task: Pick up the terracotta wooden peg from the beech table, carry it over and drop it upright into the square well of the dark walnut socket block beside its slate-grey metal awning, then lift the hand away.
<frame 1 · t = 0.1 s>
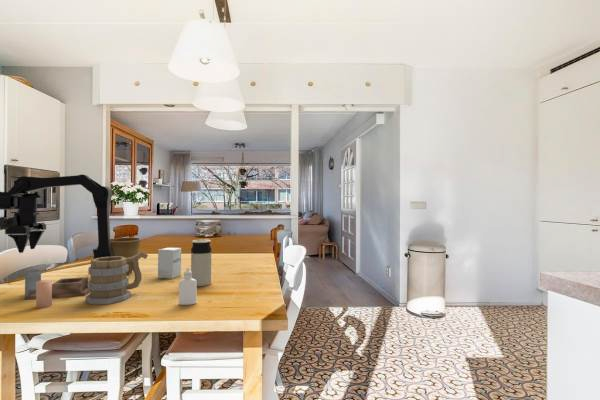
hand: (26, 250, 127), 15 cm above the table, fingers open, 9 cm apart
eye dropper bottle: (187, 304, 112), on the table
travel mug: (201, 284, 137), on the table
tankard: (119, 297, 119), on the table
plant pot: (122, 274, 155), on the table
socket block: (70, 292, 123), on the table
peg: (43, 306, 108), on the table
supplement box: (169, 277, 151), on the table
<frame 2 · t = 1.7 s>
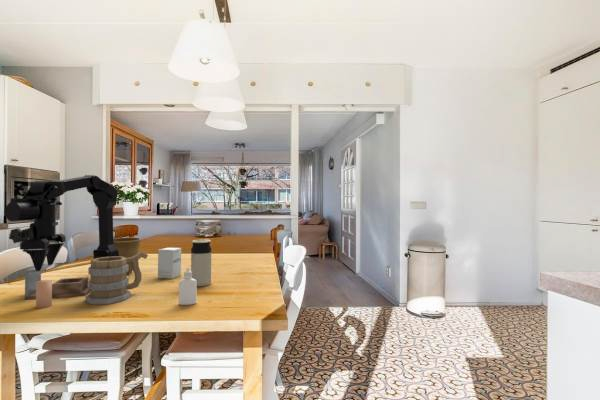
hand: (44, 267, 108), 12 cm above the table, fingers open, 9 cm apart
nothing on the table moved.
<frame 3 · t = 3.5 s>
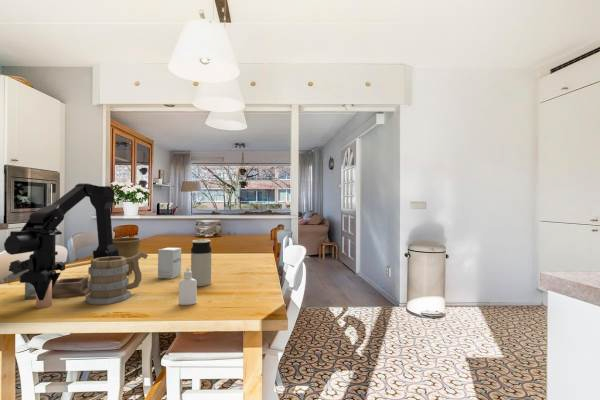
hand: (44, 298, 108), 3 cm above the table, fingers closed on peg, 4 cm apart
peg: (44, 306, 108), on the table, touching gripper
everything else where it was.
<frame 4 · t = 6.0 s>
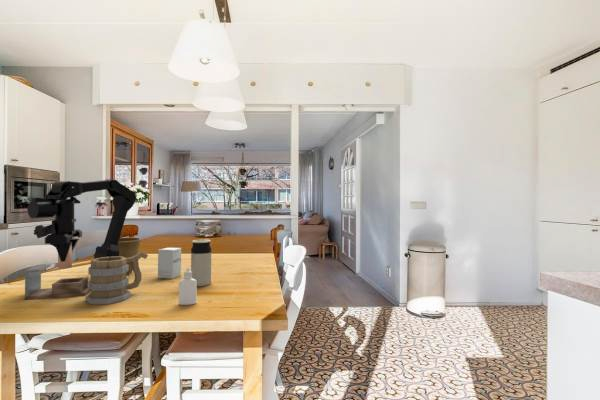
hand: (65, 260, 119), 13 cm above the table, fingers closed on peg, 4 cm apart
peg: (65, 267, 119), point 10 cm above the table, touching gripper
everything else where it was.
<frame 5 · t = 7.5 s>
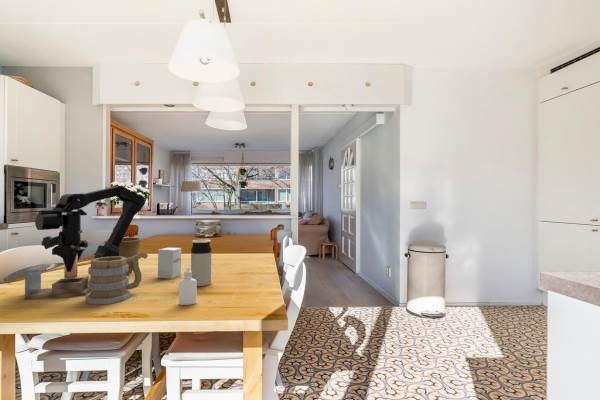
hand: (71, 270, 123), 8 cm above the table, fingers closed on peg, 4 cm apart
peg: (70, 277, 123), point 6 cm above the table, touching gripper
everything else where it was.
when the fingers open (6 cm above the table, at t = 8.8 s): peg drops 2 cm, resting on socket block.
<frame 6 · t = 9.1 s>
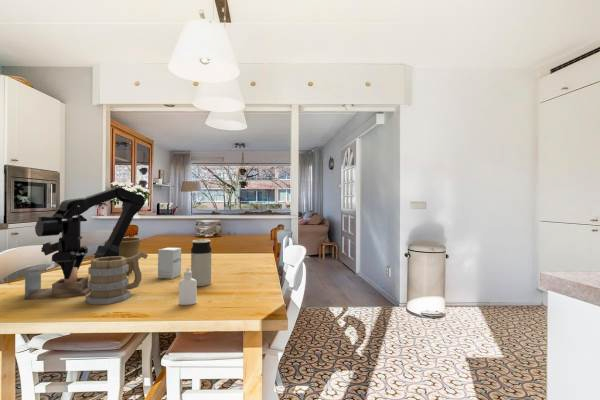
hand: (70, 276, 123), 6 cm above the table, fingers open, 8 cm apart
peg: (70, 290, 123), point 1 cm above the table, touching socket block
everything else where it was.
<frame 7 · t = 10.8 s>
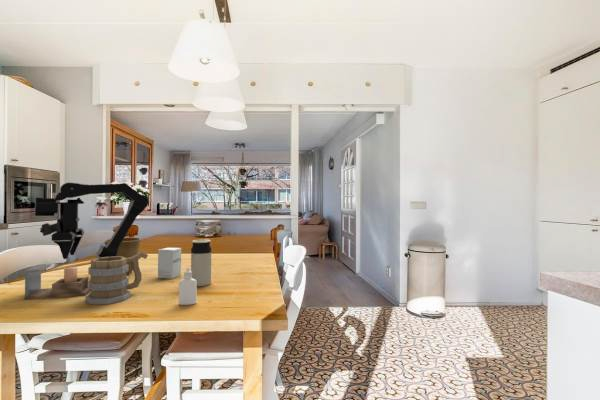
hand: (68, 256, 127), 13 cm above the table, fingers open, 9 cm apart
nothing on the table moved.
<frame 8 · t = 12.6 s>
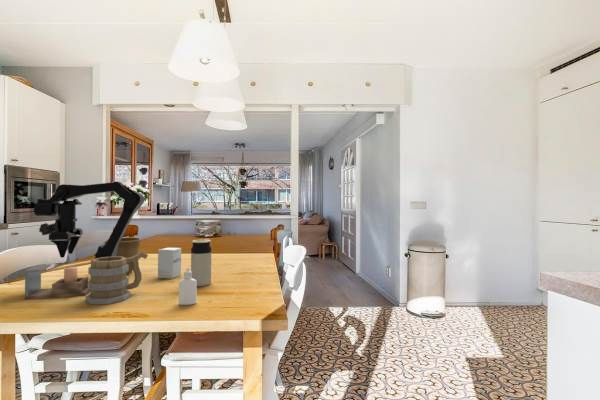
hand: (66, 255, 133), 12 cm above the table, fingers open, 9 cm apart
nothing on the table moved.
at the end: peg 0.0 cm off-centre on the socket block, point 1.0 cm above the socket block's base; peg tilted 0°; the gripper is holding nothing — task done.
